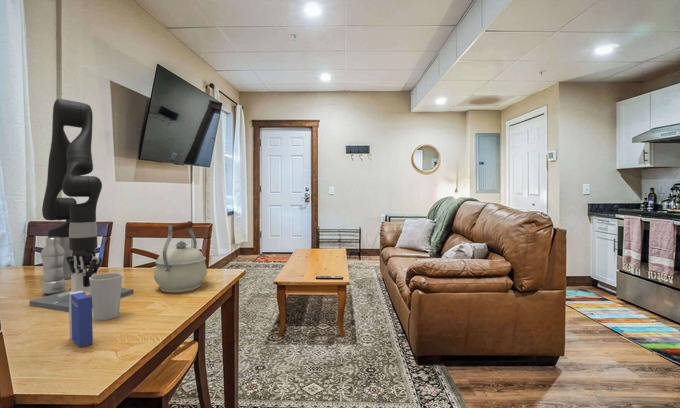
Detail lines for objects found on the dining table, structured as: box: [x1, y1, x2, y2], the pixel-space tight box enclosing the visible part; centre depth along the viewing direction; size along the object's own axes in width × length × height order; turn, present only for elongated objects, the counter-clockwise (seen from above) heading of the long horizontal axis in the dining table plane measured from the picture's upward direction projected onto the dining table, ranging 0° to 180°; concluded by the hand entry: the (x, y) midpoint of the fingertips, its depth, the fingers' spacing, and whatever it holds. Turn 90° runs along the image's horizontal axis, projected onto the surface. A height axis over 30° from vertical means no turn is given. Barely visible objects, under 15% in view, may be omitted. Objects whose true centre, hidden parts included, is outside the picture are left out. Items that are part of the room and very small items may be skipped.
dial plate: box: [29, 287, 135, 313], centre depth 114 cm, size 20×20×2 cm
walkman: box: [68, 291, 94, 348], centre depth 83 cm, size 8×3×12 cm, turn 52°
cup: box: [89, 272, 123, 321], centre depth 99 cm, size 8×8×12 cm
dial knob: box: [58, 270, 98, 297], centre depth 111 cm, size 12×8×8 cm, turn 164°
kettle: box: [153, 220, 208, 294], centre depth 130 cm, size 25×18×25 cm
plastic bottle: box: [40, 236, 67, 295], centre depth 119 cm, size 6×7×20 cm
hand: (84, 285), depth 113 cm, fingers closed on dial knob, 2 cm apart
